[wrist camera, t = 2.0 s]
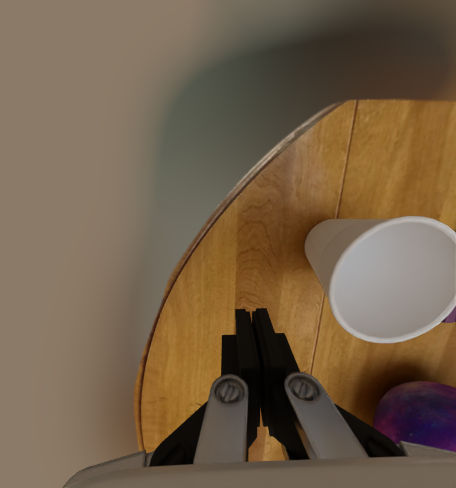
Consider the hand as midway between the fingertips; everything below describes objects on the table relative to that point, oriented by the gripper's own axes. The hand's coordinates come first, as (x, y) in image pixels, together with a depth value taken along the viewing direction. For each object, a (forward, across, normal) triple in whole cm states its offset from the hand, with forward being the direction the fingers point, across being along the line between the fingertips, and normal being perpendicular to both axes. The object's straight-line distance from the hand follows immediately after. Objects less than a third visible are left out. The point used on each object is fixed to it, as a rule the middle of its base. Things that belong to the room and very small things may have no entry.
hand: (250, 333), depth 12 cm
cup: (+15, -11, -1) cm, 19 cm away
